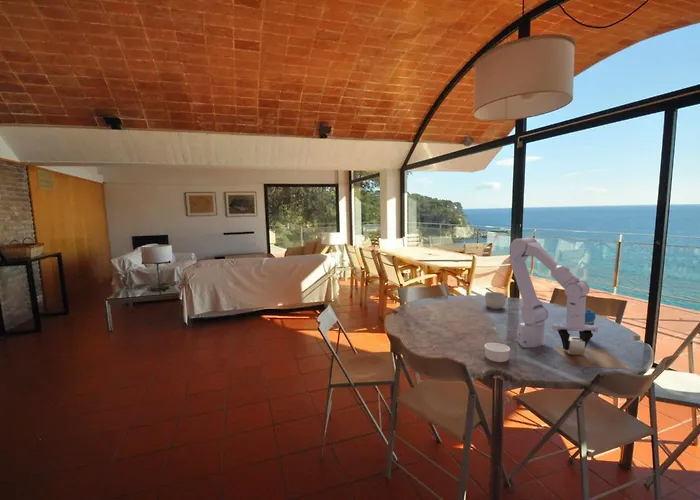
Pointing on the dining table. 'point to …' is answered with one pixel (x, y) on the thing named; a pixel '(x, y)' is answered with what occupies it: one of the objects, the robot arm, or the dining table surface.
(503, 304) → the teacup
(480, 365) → the dining table surface
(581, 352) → the beige cube
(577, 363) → the board
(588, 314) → the ornament
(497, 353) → the ramekin
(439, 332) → the dining table surface
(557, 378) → the dining table surface
